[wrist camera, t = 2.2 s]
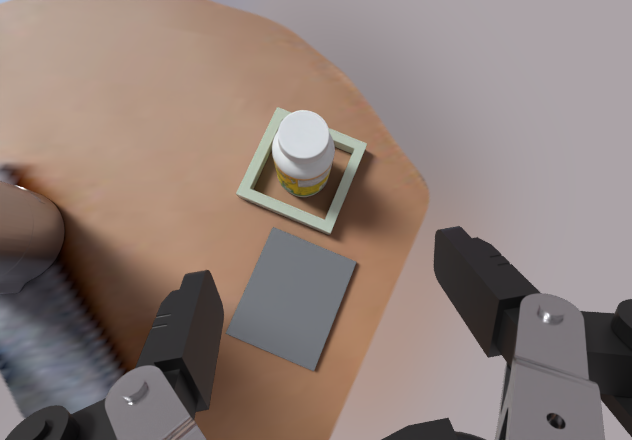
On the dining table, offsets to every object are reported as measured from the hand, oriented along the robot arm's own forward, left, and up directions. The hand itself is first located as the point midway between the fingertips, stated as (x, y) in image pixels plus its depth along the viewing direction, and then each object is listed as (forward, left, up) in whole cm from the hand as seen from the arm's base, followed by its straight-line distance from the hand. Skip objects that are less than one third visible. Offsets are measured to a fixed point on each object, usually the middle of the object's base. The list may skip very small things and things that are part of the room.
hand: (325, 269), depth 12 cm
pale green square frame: (+9, +5, -22) cm, 24 cm away
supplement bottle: (+9, +5, -22) cm, 24 cm away
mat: (-3, +1, -22) cm, 22 cm away
